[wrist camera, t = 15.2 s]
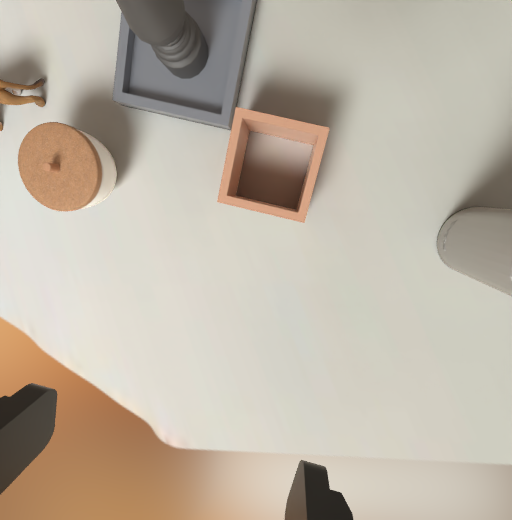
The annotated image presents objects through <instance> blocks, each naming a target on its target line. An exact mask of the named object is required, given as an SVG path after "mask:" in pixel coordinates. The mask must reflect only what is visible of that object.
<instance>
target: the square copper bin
mask: <svg viewBox="0 0 512 520" xmlns="http://www.w3.org/2000/svg"><path fill="white" fill-rule="evenodd" d="M329 129H330V128H328V127H323V126H319V125H315V124H310V123H306V122H301V121H297V120H292V119H288V118H283V117H279V116H274V115H270V114H265V113H261V112H257V111H252V110H248V109H243V108H239V107H236V108H235V113H234V119H233V124H232V129H231V134H230V139H229V144H228V149H227V154H226V160H225V165H224V170H223V175H222V180H221V185H220V190H219V195H218V201H217V202H220V203H224V204H228V205H232V206H236V207H241V208H245V209H249V210H253V211H257V212H261V213H265V214H270V215H274V216H278V217H282V218H286V219H290V220H295V221H299V222H303V223H304V222H305V218H306V215H307V211H308V207H309V203H310V200H311V196H312V192H313V189H314V185H315V181H316V177H317V174H318V170H319V166H320V163H321V159H322V155H323V151H324V148H325V144H326V140H327V136H328V133H329ZM250 131H254V132H258V133H263V134H267V135H271V136H276V137H280V138H284V139H289V140H293V141H298V142H302V143H306V144H311V145H313V148H312V152H311V156H310V160H309V164H308V168H307V172H306V175H305V179H304V183H303V187H302V191H301V195H300V199H299V202H298V206H297V210H295V209H291V208H287V207H282V206H278V205H274V204H270V203H266V202H262V201H257V200H253V199H249V198H245V197H241V196H236V194H237V189H238V184H239V180H240V175H241V170H242V165H243V160H244V156H245V151H246V146H247V141H248V137H249V132H250Z"/></svg>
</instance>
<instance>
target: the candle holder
mask: <svg viewBox="0 0 512 520" xmlns="http://www.w3.org/2000/svg"><path fill="white" fill-rule="evenodd" d="M116 1H117V3H118V5H119V7H120V9H121V11H122V13H123V15H124V17H125V19H126V21H127V23H128V25H129V27H130V29H131V30H132V31H133V32H134V33H135V34H136V35H137V36H138V38H139V39H140V40H141V41H144V42H146V43H148V44H150V45H151V47H152V49H153V51H154V52H155V54H156V57H157V58H158V59H159V60H160V61H161V62H162V63H163V64H164V65H165V66H166V68H167V69H168V70H169V71H170V72H171V73H172V74H173V75H175V76H177V77H179V78H181V79H191V78H193V77H195V76H197V75H199V74H200V72H201V71H202V70H203V69H204V68H205V66H206V63H207V60H208V45H207V43H206V40H205V37H204V35H203V34H202V32H201V30H200V28H199V26H198V24H197V23H196V21H195V20H194V19H193V18H192V17H191V16H190V15H189V14H188V13H187V12H186V11H185V5H184V1H183V0H116Z"/></svg>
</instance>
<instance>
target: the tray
mask: <svg viewBox="0 0 512 520" xmlns="http://www.w3.org/2000/svg"><path fill="white" fill-rule="evenodd" d="M183 1H184V5H185V11H186V12H187V13H188V14H189V15H190V16H191V17H192V18H193V19H194V20H195V21H196V23H197V24H198V26H199V28H200V30H201V32H202V34H203V35H204V37H205V40H206V43H207V45H208V60H207V63H206V66H205V68H204V69H203V70H202V71H201V72H200V74H199V75H197V76H195V77H193V78H191V79H181V78H179V77H177V76H175V75H173V74H172V73H171V72H170V71H169V70H168V69H167V68H166V66H165V65H164V64H163V63H162V62H161V61H160V60H159V59H158V58H157V57H156V54H155V52H154V51H153V49H152V47H151V45H150V44H148V43H146V42H144V41H141V40H140V39H139V38H138V36H137V35H136V34H135V33H134V32H133V31H132V30H131V29H130V27H129V25H128V23H127V21H126V19H125V17H124V15H123V13H121V23H120V32H119V42H118V52H117V61H116V71H115V81H114V90H113V101H115V102H117V103H119V104H121V105H123V106H127V107H131V108H136V109H140V110H144V111H149V112H153V113H158V114H162V115H166V116H171V117H175V118H179V119H184V120H188V121H193V122H197V123H201V124H206V125H210V126H214V127H219V128H223V129H228V130H231V129H232V124H233V119H234V113H235V108H236V105H237V100H238V95H239V90H240V85H241V79H242V74H243V69H244V64H245V59H246V54H247V49H248V44H249V39H250V33H251V28H252V23H253V18H254V13H255V8H256V3H257V0H183Z"/></svg>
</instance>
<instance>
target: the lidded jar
mask: <svg viewBox="0 0 512 520" xmlns="http://www.w3.org/2000/svg"><path fill="white" fill-rule="evenodd" d="M18 166H19V172H20V176H21V178H22V181H23V183H24V185H25V187H26V188H27V190H28V191H29V192H30V194H31V195H32V196H33V197H34V198H35V199H36V200H37V201H38V202H40V203H41V204H42V205H44V206H46V207H48V208H50V209H53V210H57V211H73V210H78V209H84V208H88V207H92V206H95V205H97V204H99V203H101V202H102V201H104V200H105V199H106V198H107V197H108V196H109V195H110V194H111V192H112V191H113V189H114V186H115V183H116V177H117V172H116V166H115V162H114V159H113V158H112V156H111V154H110V152H109V151H108V150H107V148H106V147H105V146H104V145H103V144H102V143H101V142H99V141H98V140H97V139H96V138H94V137H92V136H91V135H89V134H87V133H85V132H83V131H80V130H78V129H75V128H74V127H71V126H68V125H66V124H62V123H57V122H49V123H43V124H41V125H38V126H36V127H35V128H33V129H32V130H31V131H30V132H29V133H28V134H27V135H26V136H25V138H24V139H23V141H22V143H21V146H20V149H19V155H18Z"/></svg>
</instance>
